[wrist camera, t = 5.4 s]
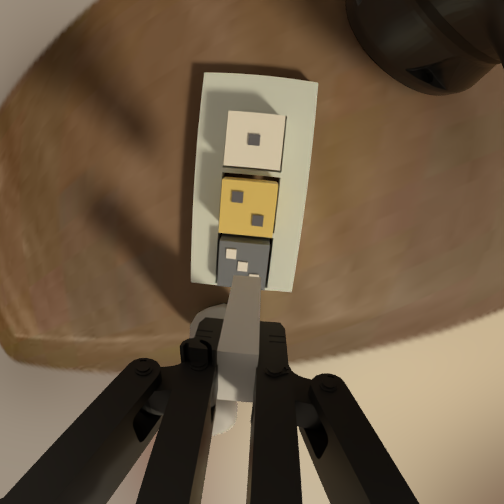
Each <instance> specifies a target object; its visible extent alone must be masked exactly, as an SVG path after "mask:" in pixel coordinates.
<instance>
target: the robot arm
mask: <svg viewBox="0 0 504 504" xmlns="http://www.w3.org/2000/svg"><path fill="white" fill-rule="evenodd" d="M346 11H347V16H348V20H349V23H350V25H351V28H352V30H353V32H354V34H355V36H356V38H357V39H358V41H359V42H360V44H361V45H362V47H363V48H364V50H365V51H366V52H367V53H368V55H369V56H370V57H371V58H372V59H373V60H374V61H375V62H376V63H377V64H378V65H379V66H380V67H381V68H382V69H383V70H384V71H385V72H386V73H388V74H389V75H390V76H392V77H393V78H394V79H396V80H397V81H399V82H400V83H402V84H404V85H405V86H407V87H409V88H411V89H414V90H416V91H419V92H421V93H425V94H429V95H438V96H440V95H449V94H454V93H459V92H462V91H465V90H467V89H469V88H471V87H472V86H473V85H474V84H476V83H477V82H478V81H479V80H480V79H481V78H482V77H483V76H484V75H486V74H487V73H488V72H489V71H490V70H491V69H492V68H493V67H494V66H495V65H496V64H500V63H502V66H503V68H504V0H346ZM260 296H261V277H251V276H238V275H234V277H233V281H232V285H231V290H230V294H229V299H228V303H227V308H226V312H225V317H224V319H219V318H209V317H205V318H204V319H203V320H202V321H201V322H199V325H198V328H197V331H196V334H195V336H194V338H190V339H187V340H185V341H183V342H182V343H181V345H180V355H181V363H180V364H178V365H175V366H169V367H160V365H159V364H158V363H157V362H156V361H154V360H153V359H149V358H139V359H136V360H134V361H132V362H131V363H129V364H128V366H127V367H126V368H125V369H124V370H123V371H122V372H121V373H120V374H119V375H118V376H117V377H116V378H115V379H114V380H113V381H112V382H111V383H110V384H109V385H108V387H106V388H105V390H104V391H103V392H102V393H101V394H100V395H99V396H98V397H97V398H96V399H95V400H94V401H93V402H92V403H91V404H90V405H89V407H87V409H86V410H85V411H84V412H83V413H82V414H81V415H80V416H79V417H78V418H77V419H76V420H75V421H74V422H73V423H72V425H70V427H69V428H68V429H67V430H66V431H65V432H64V433H63V434H62V435H61V436H60V437H59V438H58V439H57V440H56V441H55V442H54V443H53V445H52V446H51V447H50V448H49V449H48V450H47V451H46V452H45V453H44V454H43V455H42V456H41V457H40V459H39V460H38V461H37V462H36V463H35V464H34V465H33V466H32V467H31V468H30V469H29V471H27V473H26V474H25V475H24V476H23V477H22V478H21V479H20V480H19V481H18V482H17V483H16V485H15V486H14V487H13V488H12V489H11V490H10V491H9V492H8V493H7V494H6V495H5V497H4V498H1V499H0V504H106V503H107V502H108V501H109V499H110V498H111V496H112V495H113V494H114V492H115V491H116V489H117V488H118V487H119V485H120V484H121V482H122V481H123V480H124V478H125V477H126V475H127V474H128V472H129V471H130V470H131V468H132V467H133V465H134V464H135V463H136V461H137V460H138V458H139V457H140V455H141V453H143V451H144V450H145V448H146V447H147V445H148V444H149V442H150V441H151V440H152V438H153V436H154V435H155V434H156V432H157V431H158V429H159V431H158V433H157V436H156V440H155V443H154V446H153V449H152V452H151V455H150V458H149V462H148V465H147V468H146V471H145V475H144V478H143V481H142V485H141V488H140V491H139V494H138V498H137V502H136V504H201V498H202V492H203V486H204V480H205V473H206V467H207V460H208V455H209V449H210V443H211V437H212V431H213V425H214V419H215V413H216V399H221V400H230V401H241V402H253V407H252V415H251V437H250V452H249V469H248V484H247V499H246V504H302V491H301V476H300V461H299V447H298V435H297V426H299V430H300V432H301V435H302V437H303V440H304V442H305V444H306V447H307V449H308V451H309V454H310V456H311V459H312V461H313V464H314V466H315V468H316V471H317V473H318V475H319V478H320V480H321V482H322V485H323V487H324V490H325V492H326V494H327V497H328V499H329V501H330V503H331V504H419V502H418V501H417V499H416V498H415V496H414V494H413V493H412V491H411V489H410V488H409V486H408V484H407V483H406V481H405V479H404V478H403V476H402V475H401V473H400V471H399V470H398V468H397V466H396V465H395V463H394V461H393V460H392V458H391V457H390V455H389V453H388V452H387V450H386V449H385V447H384V445H383V444H382V442H381V440H380V439H379V437H378V435H377V434H376V432H375V431H374V429H373V427H372V426H371V424H370V423H369V421H368V419H367V418H366V416H365V414H364V413H363V411H362V410H361V408H360V407H359V405H358V403H357V402H356V400H355V398H354V397H353V395H352V394H351V392H350V390H349V389H348V387H347V386H346V384H345V382H344V381H343V380H342V379H341V378H340V377H338V376H336V375H333V374H320V375H317V376H315V377H314V378H313V379H312V380H311V379H307V378H303V377H301V376H298V375H297V374H295V373H294V372H293V371H291V368H290V367H289V365H288V355H287V345H286V335H285V329H284V327H283V326H282V325H281V323H277V322H263V321H260Z"/></svg>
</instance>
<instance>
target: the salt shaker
mask: <svg viewBox="0 0 504 504" xmlns="http://www.w3.org/2000/svg"><path fill="white" fill-rule="evenodd" d="M226 308H227V304H225V303H223V304H219V305H216V306H212V307H209V308H206V309H204V310H203V311H201V312H199V313H197V315H196V316H195V318H194V319H193V321H192V323H191V325H190V338H194V336H195V334H196V331H197V328H198V325H199V322H201V321H202V320H203V319H204V318H205V317H209V318H219V319H224V317H225V312H226ZM236 418H237V401H230V400H221V399H216V413H215V419H214V425H213V431H212V435H218V434H222V433H224V432H227V431H228V430H229V429H231V428H232V427H233V426H234V425H235V422H236Z"/></svg>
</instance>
